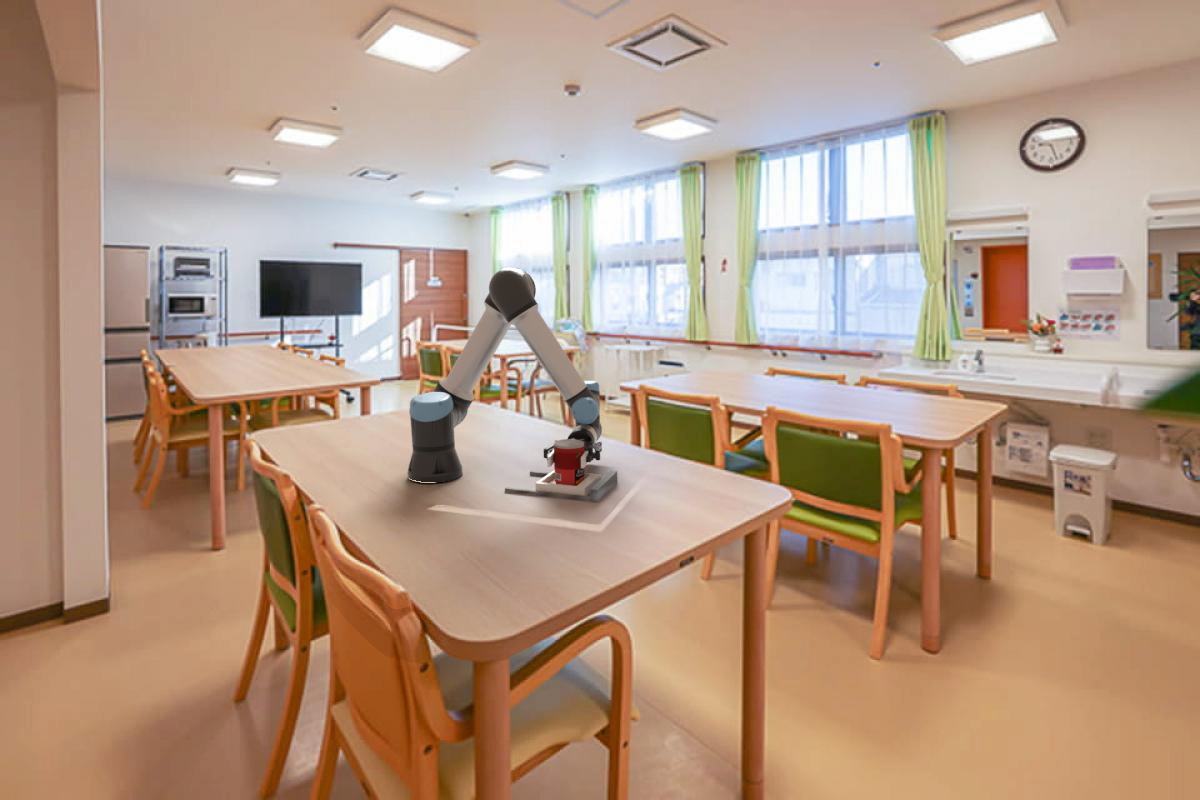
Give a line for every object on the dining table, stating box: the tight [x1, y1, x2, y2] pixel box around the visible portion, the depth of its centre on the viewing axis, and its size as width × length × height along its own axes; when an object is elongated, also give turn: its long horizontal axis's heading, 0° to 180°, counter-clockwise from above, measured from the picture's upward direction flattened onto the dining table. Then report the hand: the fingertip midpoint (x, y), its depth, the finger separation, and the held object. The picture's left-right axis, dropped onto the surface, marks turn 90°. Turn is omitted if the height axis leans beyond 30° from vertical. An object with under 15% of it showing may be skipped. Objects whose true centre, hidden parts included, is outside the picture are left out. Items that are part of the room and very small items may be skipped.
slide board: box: [504, 470, 618, 503], centre depth 160 cm, size 27×16×4 cm, turn 71°
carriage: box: [534, 469, 601, 496], centre depth 160 cm, size 14×12×2 cm
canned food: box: [553, 438, 586, 486], centre depth 159 cm, size 8×8×11 cm
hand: (565, 462), depth 154 cm, fingers closed on canned food, 8 cm apart
